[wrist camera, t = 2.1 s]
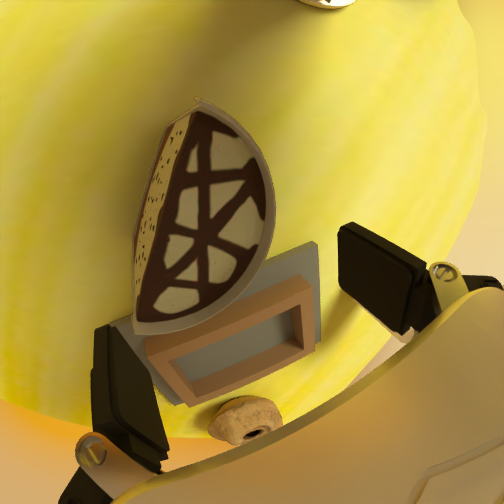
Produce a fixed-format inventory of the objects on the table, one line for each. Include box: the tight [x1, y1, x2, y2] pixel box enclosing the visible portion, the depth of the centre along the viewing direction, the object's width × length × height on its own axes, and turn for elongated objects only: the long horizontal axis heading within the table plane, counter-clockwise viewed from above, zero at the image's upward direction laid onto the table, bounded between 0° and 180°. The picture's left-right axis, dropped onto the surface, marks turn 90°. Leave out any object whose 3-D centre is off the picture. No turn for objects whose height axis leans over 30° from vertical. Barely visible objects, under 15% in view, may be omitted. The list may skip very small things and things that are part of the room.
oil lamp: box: [208, 396, 283, 445], centre depth 35 cm, size 11×15×8 cm
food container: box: [131, 96, 276, 335], centre depth 16 cm, size 12×6×10 cm, turn 157°
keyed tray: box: [110, 241, 321, 407], centre depth 28 cm, size 16×22×4 cm
